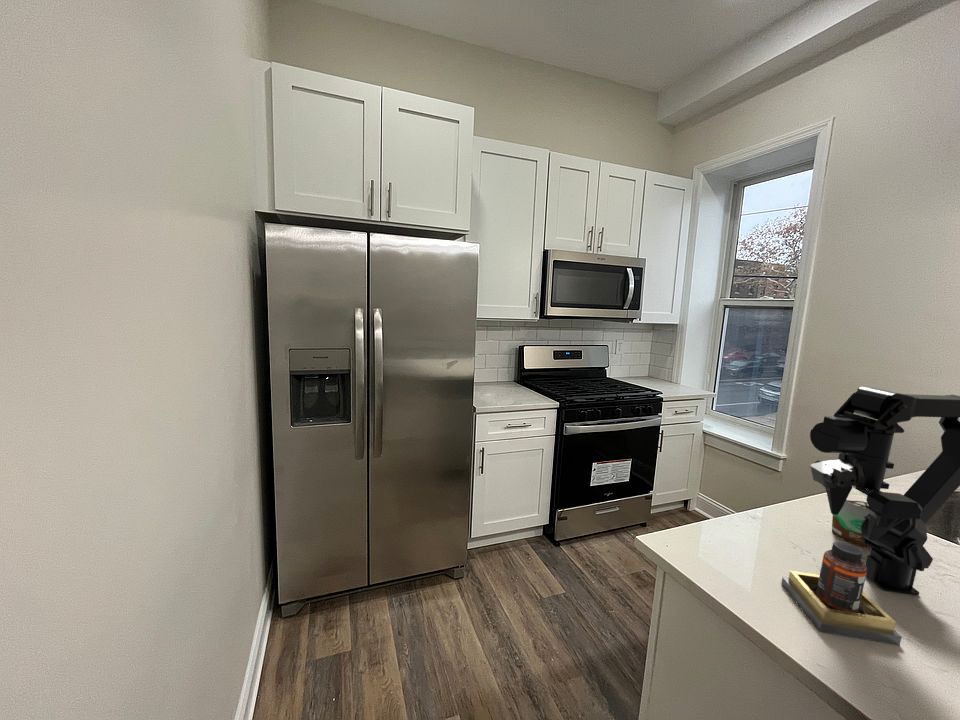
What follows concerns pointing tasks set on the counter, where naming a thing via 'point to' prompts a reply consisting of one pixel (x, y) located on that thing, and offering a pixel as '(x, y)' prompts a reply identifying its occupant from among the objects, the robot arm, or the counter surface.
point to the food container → (850, 522)
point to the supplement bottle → (842, 577)
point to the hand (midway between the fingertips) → (851, 526)
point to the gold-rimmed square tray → (840, 612)
